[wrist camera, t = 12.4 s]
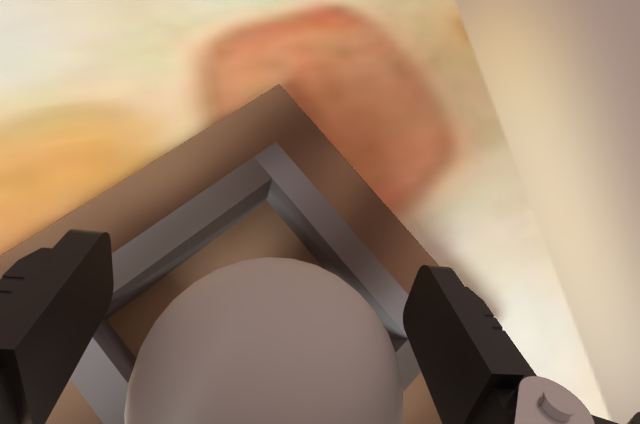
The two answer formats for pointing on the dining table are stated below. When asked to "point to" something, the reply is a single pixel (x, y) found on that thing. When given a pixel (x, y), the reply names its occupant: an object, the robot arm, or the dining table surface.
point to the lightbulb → (266, 352)
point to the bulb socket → (235, 241)
